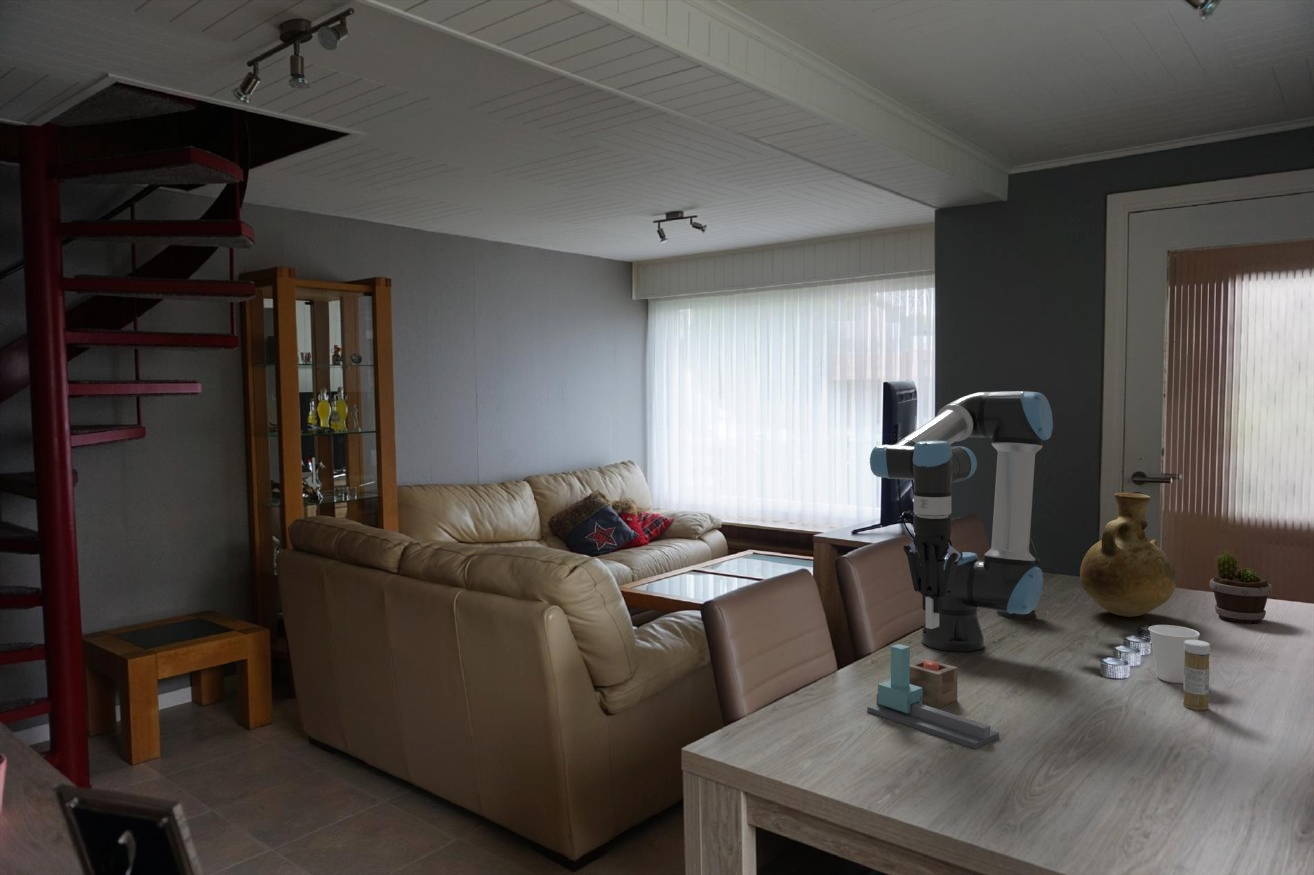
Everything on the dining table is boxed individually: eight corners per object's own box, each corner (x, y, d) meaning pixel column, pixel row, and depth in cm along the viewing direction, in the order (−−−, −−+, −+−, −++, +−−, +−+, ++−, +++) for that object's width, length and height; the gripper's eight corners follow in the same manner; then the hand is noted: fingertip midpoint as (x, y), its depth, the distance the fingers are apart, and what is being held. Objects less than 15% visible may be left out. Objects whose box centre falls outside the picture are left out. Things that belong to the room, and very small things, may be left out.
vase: (1139, 631, 233) (1142, 501, 231) (1060, 611, 254) (1062, 492, 252) (1193, 620, 244) (1196, 495, 242) (1113, 602, 265) (1115, 487, 263)
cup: (1206, 688, 188) (1207, 638, 188) (1156, 685, 190) (1157, 635, 190) (1188, 673, 198) (1189, 625, 197) (1140, 671, 200) (1141, 623, 199)
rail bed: (867, 711, 176) (867, 697, 176) (891, 702, 181) (891, 688, 181) (975, 748, 157) (975, 732, 157) (998, 737, 162) (999, 722, 162)
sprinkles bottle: (1191, 702, 180) (1193, 637, 179) (1213, 709, 176) (1215, 643, 175) (1177, 705, 178) (1179, 640, 177) (1199, 712, 174) (1201, 646, 173)
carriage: (877, 703, 176) (878, 645, 175) (893, 698, 179) (893, 640, 178) (907, 713, 170) (907, 653, 170) (922, 707, 173) (922, 648, 173)
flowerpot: (1269, 616, 247) (1271, 546, 246) (1272, 629, 234) (1274, 555, 233) (1208, 610, 254) (1210, 542, 253) (1208, 622, 241) (1210, 550, 240)
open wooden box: (904, 697, 184) (904, 665, 183) (924, 690, 188) (924, 658, 188) (937, 708, 177) (938, 674, 177) (957, 700, 182) (957, 667, 181)
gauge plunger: (920, 683, 183) (920, 663, 183) (928, 680, 185) (929, 660, 184) (933, 687, 181) (933, 666, 180) (941, 684, 182) (941, 663, 182)
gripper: (895, 514, 184) (895, 624, 185) (949, 521, 173) (949, 637, 175) (916, 510, 188) (916, 617, 190) (970, 516, 178) (970, 630, 180)
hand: (932, 626), depth 182 cm, fingers closed
